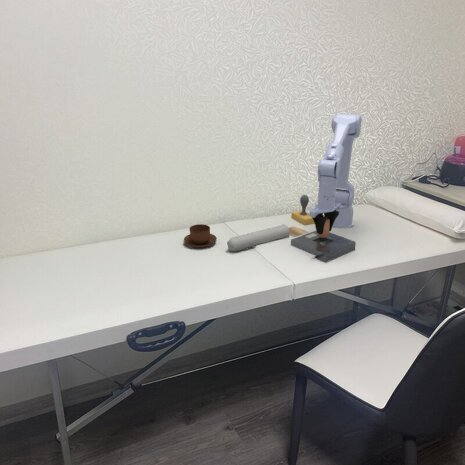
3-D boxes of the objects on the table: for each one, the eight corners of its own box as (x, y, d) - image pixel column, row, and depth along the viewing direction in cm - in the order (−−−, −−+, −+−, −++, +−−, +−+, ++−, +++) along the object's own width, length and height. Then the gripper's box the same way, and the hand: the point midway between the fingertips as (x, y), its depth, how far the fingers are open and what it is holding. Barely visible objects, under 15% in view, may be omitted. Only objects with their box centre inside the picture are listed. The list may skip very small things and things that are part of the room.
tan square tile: (293, 228, 173) (293, 226, 172) (308, 234, 167) (308, 232, 167) (278, 233, 168) (279, 231, 168) (294, 239, 162) (294, 237, 162)
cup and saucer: (177, 246, 158) (176, 230, 155) (195, 235, 168) (194, 220, 165) (205, 252, 153) (205, 236, 150) (222, 240, 162) (222, 225, 160)
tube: (231, 256, 152) (288, 240, 163) (233, 244, 148) (291, 229, 160) (223, 247, 155) (280, 232, 167) (225, 235, 152) (283, 221, 164)
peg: (322, 232, 156) (323, 217, 154) (331, 235, 153) (332, 219, 151) (315, 235, 153) (315, 219, 151) (323, 238, 150) (324, 222, 148)
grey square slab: (319, 236, 165) (320, 228, 164) (354, 249, 154) (355, 241, 153) (290, 247, 156) (290, 239, 155) (325, 262, 144) (326, 253, 143)
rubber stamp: (290, 220, 182) (292, 192, 177) (302, 218, 184) (303, 190, 180) (304, 227, 174) (306, 199, 169) (316, 225, 176) (318, 197, 171)
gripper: (331, 188, 154) (328, 224, 159) (303, 196, 146) (301, 233, 151) (347, 192, 149) (343, 229, 154) (319, 201, 141) (316, 239, 146)
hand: (323, 231), depth 152 cm, fingers closed on peg, 4 cm apart
